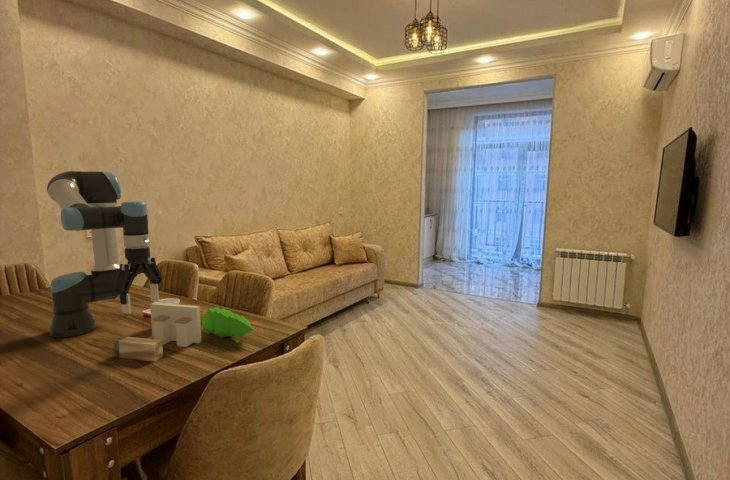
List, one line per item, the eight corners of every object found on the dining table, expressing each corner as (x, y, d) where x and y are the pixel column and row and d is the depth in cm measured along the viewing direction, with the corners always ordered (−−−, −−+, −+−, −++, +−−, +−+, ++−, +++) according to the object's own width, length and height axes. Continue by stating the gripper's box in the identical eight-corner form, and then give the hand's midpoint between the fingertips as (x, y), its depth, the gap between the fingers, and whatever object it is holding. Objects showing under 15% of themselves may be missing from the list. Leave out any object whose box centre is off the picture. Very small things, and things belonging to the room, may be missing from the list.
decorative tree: (208, 298, 166) (258, 308, 150) (219, 320, 171) (268, 332, 155) (186, 315, 158) (236, 328, 142) (198, 337, 163) (248, 352, 147)
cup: (170, 331, 162) (169, 305, 161) (149, 329, 164) (147, 304, 163) (186, 323, 172) (184, 298, 170) (166, 321, 174) (164, 297, 172)
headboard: (144, 342, 151) (142, 307, 149) (156, 336, 157) (153, 302, 155) (191, 347, 147) (189, 311, 145) (201, 341, 153) (199, 306, 151)
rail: (154, 361, 135) (153, 344, 134) (114, 356, 138) (113, 340, 138) (163, 356, 139) (162, 340, 138) (124, 352, 142) (122, 336, 141)
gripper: (118, 253, 122) (123, 319, 125) (170, 242, 147) (174, 297, 150) (97, 252, 124) (102, 317, 127) (152, 241, 148) (156, 296, 151)
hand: (141, 307), depth 138 cm, fingers open, 13 cm apart
